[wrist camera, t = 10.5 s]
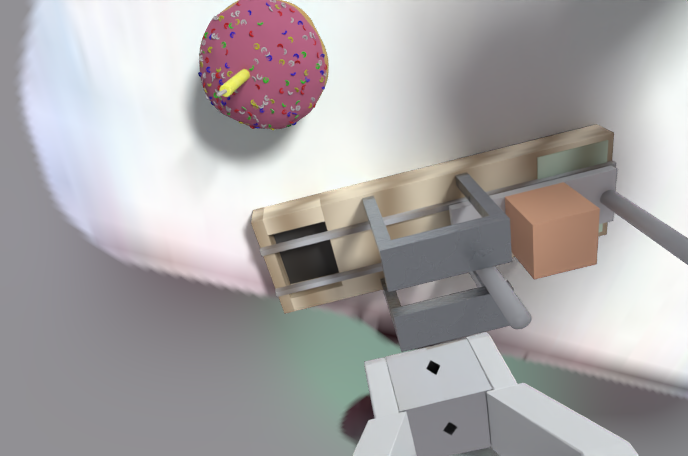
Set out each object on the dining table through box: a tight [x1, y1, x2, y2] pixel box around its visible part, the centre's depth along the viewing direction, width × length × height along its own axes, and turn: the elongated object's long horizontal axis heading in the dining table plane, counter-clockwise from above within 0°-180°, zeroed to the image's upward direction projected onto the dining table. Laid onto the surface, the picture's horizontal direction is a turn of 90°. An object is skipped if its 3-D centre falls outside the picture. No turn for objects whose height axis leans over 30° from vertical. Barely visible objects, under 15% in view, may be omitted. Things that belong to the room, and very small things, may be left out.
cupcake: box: [198, 0, 328, 130], centre depth 29 cm, size 9×8×12 cm
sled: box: [449, 165, 688, 329], centre depth 34 cm, size 14×5×12 cm, turn 102°
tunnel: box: [362, 172, 513, 352], centre depth 37 cm, size 9×10×8 cm
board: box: [251, 125, 616, 313], centre depth 41 cm, size 31×10×3 cm, turn 102°
